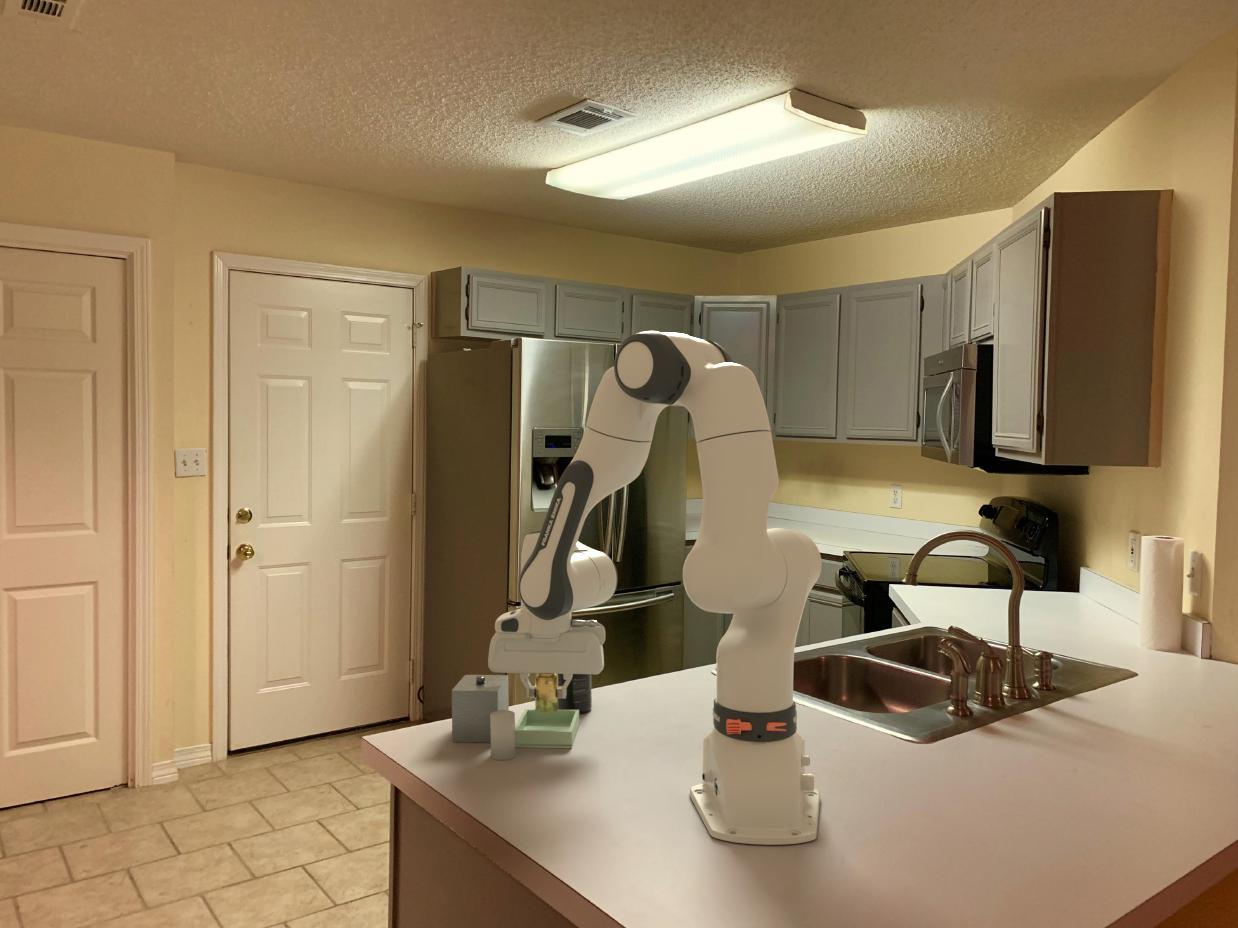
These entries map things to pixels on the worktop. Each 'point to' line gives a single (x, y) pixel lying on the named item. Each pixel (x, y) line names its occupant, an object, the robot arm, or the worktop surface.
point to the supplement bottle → (576, 693)
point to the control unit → (477, 706)
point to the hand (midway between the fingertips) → (546, 697)
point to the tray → (547, 729)
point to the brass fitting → (546, 692)
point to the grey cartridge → (502, 734)
